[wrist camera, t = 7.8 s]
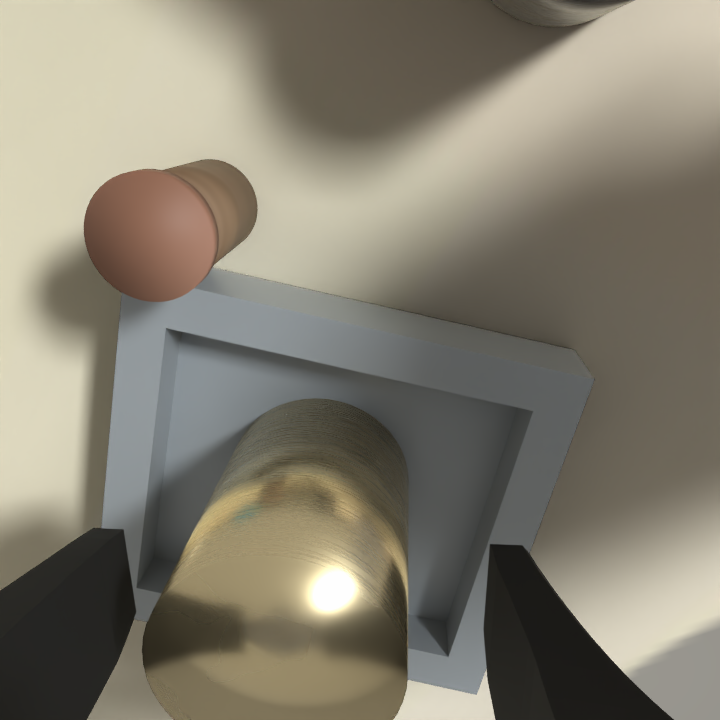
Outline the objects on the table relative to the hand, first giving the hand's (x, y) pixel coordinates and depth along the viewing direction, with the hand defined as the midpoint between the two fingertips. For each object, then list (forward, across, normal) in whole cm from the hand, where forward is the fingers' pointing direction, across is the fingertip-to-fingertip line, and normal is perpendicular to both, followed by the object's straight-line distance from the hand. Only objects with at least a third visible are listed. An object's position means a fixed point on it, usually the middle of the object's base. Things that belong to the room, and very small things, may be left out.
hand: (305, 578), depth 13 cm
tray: (+4, 0, 0) cm, 4 cm away
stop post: (+4, +2, -6) cm, 8 cm away
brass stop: (+4, 0, 0) cm, 4 cm away
